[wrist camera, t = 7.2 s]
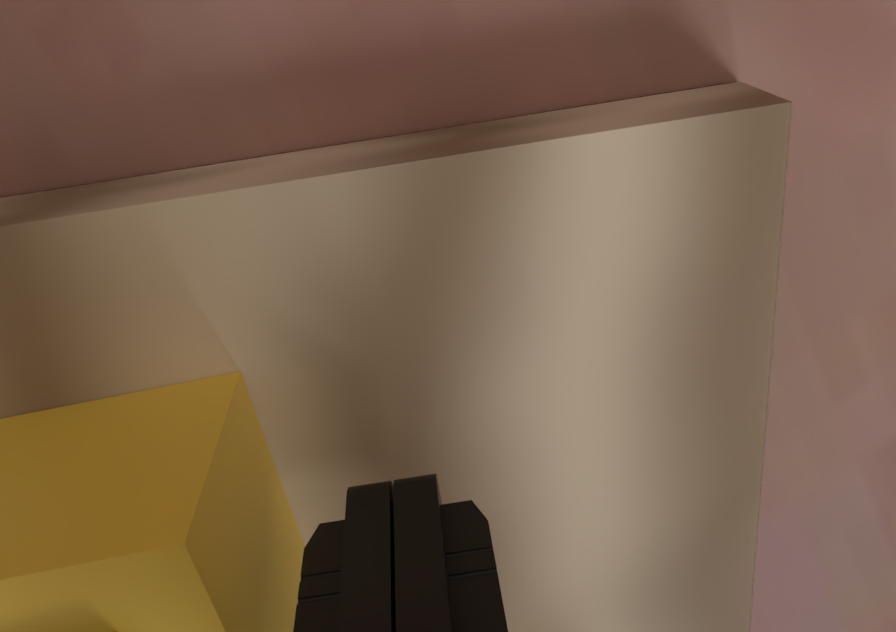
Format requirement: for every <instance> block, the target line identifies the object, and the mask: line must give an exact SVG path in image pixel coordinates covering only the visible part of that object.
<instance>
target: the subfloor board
mask: <svg viewBox="0 0 896 632" xmlns="http://www.w3.org/2000/svg"><path fill="white" fill-rule="evenodd" d="M791 103H792V102H791V101H788V100H785V99H783V98H780V97H778V96H775V95H773V94H770V93H768V92H765V91H762V90H760V89H757V88H755V87H752V86H750V85H747V84H745V83H742V82H735V83H728V84H722V85H716V86H709V87H703V88H696V89H690V90H684V91H677V92H671V93H665V94H658V95H652V96H646V97H639V98H633V99H626V100H620V101H614V102H607V103H601V104H595V105H588V106H582V107H576V108H569V109H563V110H557V111H550V112H544V113H537V114H531V115H525V116H518V117H512V118H506V119H499V120H493V121H487V122H480V123H474V124H468V125H461V126H455V127H448V128H442V129H436V130H429V131H423V132H417V133H410V134H404V135H398V136H391V137H385V138H378V139H372V140H366V141H359V142H353V143H347V144H340V145H334V146H328V147H321V148H315V149H309V150H302V151H296V152H289V153H283V154H277V155H270V156H264V157H258V158H251V159H245V160H239V161H232V162H226V163H219V164H213V165H207V166H200V167H194V168H188V169H181V170H175V171H169V172H162V173H156V174H150V175H143V176H137V177H130V178H124V179H118V180H111V181H105V182H99V183H92V184H86V185H80V186H73V187H67V188H60V189H54V190H48V191H41V192H35V193H29V194H22V195H16V196H10V197H3V198H0V419H2V418H7V417H12V416H17V415H22V414H27V413H32V412H37V411H42V410H47V409H52V408H57V407H62V406H67V405H73V404H78V403H83V402H88V401H93V400H98V399H103V398H108V397H113V396H118V395H123V394H128V393H133V392H138V391H143V390H148V389H154V388H159V387H164V386H169V385H174V384H179V383H184V382H189V381H194V380H199V379H204V378H209V377H214V376H219V375H224V374H229V373H235V372H240V371H241V374H242V376H243V379H244V382H245V384H246V387H247V390H248V393H249V395H250V398H251V401H252V403H253V406H254V409H255V412H256V414H257V417H258V420H259V423H260V425H261V428H262V431H263V433H264V436H265V439H266V442H267V444H268V447H269V450H270V453H271V455H272V458H273V461H274V463H275V466H276V469H277V472H278V474H279V477H280V480H281V482H282V485H283V488H284V491H285V493H286V496H287V499H288V502H289V504H290V507H291V510H292V512H293V515H294V518H295V521H296V523H297V526H298V529H299V531H300V534H301V537H302V540H303V542H304V545H305V546H306V545H307V543H308V542H309V540H310V538H311V537H312V535H313V533H314V532H315V530H316V529H317V527H318V525H319V524H320V523H326V522H332V521H339V520H345V510H346V495H347V489H348V487H352V486H359V485H366V484H372V483H379V482H385V481H391V482H392V484H393V483H394V480H397V479H403V478H410V477H417V476H423V475H430V474H437V479H438V484H439V490H440V496H441V502H442V504H449V503H455V502H462V501H468V500H472V501H473V502H474V504H475V505H476V506H477V507H478V509H479V510H480V511H481V512H482V513H483V515H484V516H485V517H486V518H487V520H488V522H489V528H490V534H491V539H492V545H493V551H494V556H495V561H496V567H497V573H498V578H499V584H500V589H501V595H502V600H503V606H504V611H505V617H506V622H507V628H508V632H749V631H750V619H751V606H752V594H753V581H754V569H755V556H756V543H757V531H758V518H759V506H760V493H761V481H762V468H763V455H764V443H765V430H766V418H767V405H768V393H769V380H770V367H771V355H772V342H773V330H774V317H775V304H776V292H777V279H778V267H779V254H780V242H781V229H782V216H783V204H784V191H785V179H786V166H787V154H788V141H789V128H790V116H791Z"/></svg>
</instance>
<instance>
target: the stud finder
mask: <svg viewBox="0 0 896 632" xmlns="http://www.w3.org/2000/svg"><path fill="white" fill-rule="evenodd" d="M304 548H305V545H304V542H303V540H302V537H301V534H300V531H299V529H298V526H297V523H296V521H295V518H294V515H293V512H292V510H291V507H290V504H289V502H288V499H287V496H286V493H285V491H284V488H283V485H282V482H281V480H280V477H279V474H278V472H277V469H276V466H275V463H274V461H273V458H272V455H271V453H270V450H269V447H268V444H267V442H266V439H265V436H264V433H263V431H262V428H261V425H260V423H259V420H258V417H257V414H256V412H255V409H254V406H253V403H252V401H251V398H250V395H249V393H248V390H247V387H246V384H245V382H244V379H243V376H242V374H241V371H240V372H235V373H229V374H224V375H219V376H214V377H209V378H204V379H199V380H194V381H189V382H184V383H179V384H174V385H169V386H164V387H159V388H154V389H148V390H143V391H138V392H133V393H128V394H123V395H118V396H113V397H108V398H103V399H98V400H93V401H88V402H83V403H78V404H73V405H67V406H62V407H57V408H52V409H47V410H42V411H37V412H32V413H27V414H22V415H17V416H12V417H7V418H2V419H0V632H293V629H294V621H295V614H296V606H297V604H298V591H299V583H300V581H301V576H300V575H301V568H302V560H303V552H304Z"/></svg>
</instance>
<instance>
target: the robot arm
mask: <svg viewBox="0 0 896 632" xmlns="http://www.w3.org/2000/svg"><path fill="white" fill-rule="evenodd" d="M300 576H301V581H300V583H299V591H298V604H297V606H296V614H295V621H294V629H293V632H508V628H507V622H506V617H505V611H504V606H503V600H502V595H501V589H500V584H499V578H498V573H497V567H496V561H495V556H494V551H493V545H492V539H491V534H490V528H489V522H488V520H487V518H486V517H485V516H484V515H483V513H482V512H481V511H480V510H479V509H478V507H477V506H476V505H475V504H474V502H473V501H472V500H468V501H462V502H455V503H449V504H442V502H441V496H440V490H439V484H438V479H437V474H430V475H423V476H417V477H410V478H403V479H397V480H394V483H393V484H392V482H391V481H385V482H379V483H372V484H366V485H359V486H352V487H348V489H347V495H346V510H345V520H339V521H332V522H326V523H320V524H319V525H318V527H317V529H316V530H315V532H314V533H313V535H312V537H311V538H310V540H309V542H308V543H307V545H306V546H305V548H304V552H303V560H302V568H301V575H300Z"/></svg>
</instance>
